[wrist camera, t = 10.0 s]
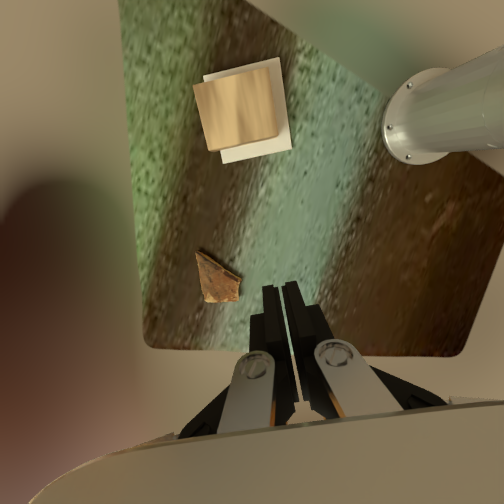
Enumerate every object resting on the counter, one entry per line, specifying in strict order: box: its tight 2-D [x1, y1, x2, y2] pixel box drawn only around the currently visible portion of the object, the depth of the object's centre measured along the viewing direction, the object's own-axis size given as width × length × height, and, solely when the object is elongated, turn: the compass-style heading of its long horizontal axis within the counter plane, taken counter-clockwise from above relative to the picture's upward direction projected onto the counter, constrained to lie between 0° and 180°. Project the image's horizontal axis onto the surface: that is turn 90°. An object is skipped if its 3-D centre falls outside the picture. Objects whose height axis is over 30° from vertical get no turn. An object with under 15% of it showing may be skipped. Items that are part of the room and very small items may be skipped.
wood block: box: [193, 67, 279, 152], centre depth 34 cm, size 4×8×10 cm
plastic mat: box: [203, 57, 292, 164], centre depth 36 cm, size 11×12×1 cm
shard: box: [195, 250, 242, 303], centre depth 45 cm, size 11×8×2 cm
